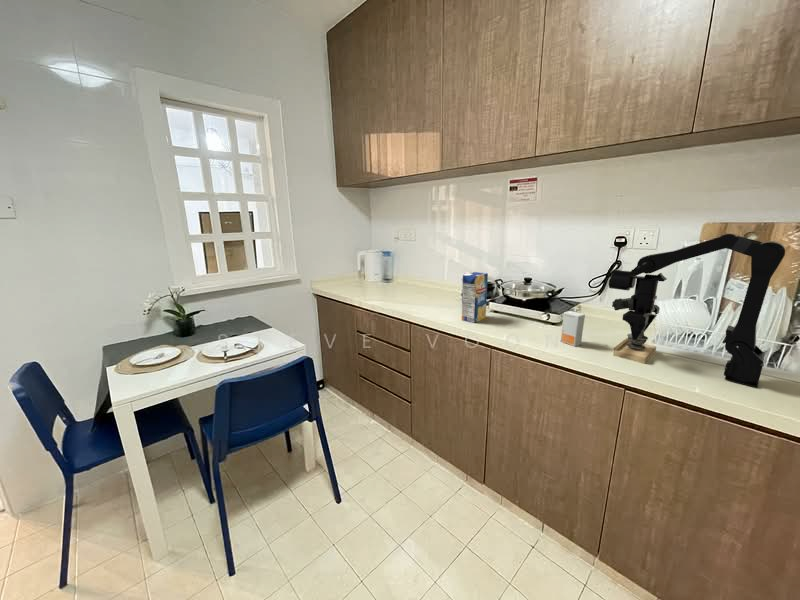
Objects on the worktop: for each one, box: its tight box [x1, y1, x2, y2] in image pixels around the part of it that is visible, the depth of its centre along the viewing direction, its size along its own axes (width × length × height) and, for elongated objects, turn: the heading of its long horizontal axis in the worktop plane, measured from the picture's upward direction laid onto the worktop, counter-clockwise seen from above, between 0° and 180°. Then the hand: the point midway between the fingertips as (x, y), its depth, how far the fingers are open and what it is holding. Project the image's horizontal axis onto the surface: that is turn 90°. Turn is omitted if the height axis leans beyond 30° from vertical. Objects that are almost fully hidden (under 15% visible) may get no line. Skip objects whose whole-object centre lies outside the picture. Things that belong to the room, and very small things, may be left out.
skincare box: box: [559, 310, 586, 347], centre depth 120 cm, size 6×4×12 cm
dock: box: [612, 337, 657, 364], centre depth 111 cm, size 9×14×3 cm, turn 130°
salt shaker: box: [627, 326, 649, 349], centre depth 109 cm, size 6×6×12 cm
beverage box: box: [461, 271, 489, 324], centre depth 150 cm, size 7×11×22 cm, turn 137°
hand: (637, 336), depth 109 cm, fingers closed on salt shaker, 7 cm apart
